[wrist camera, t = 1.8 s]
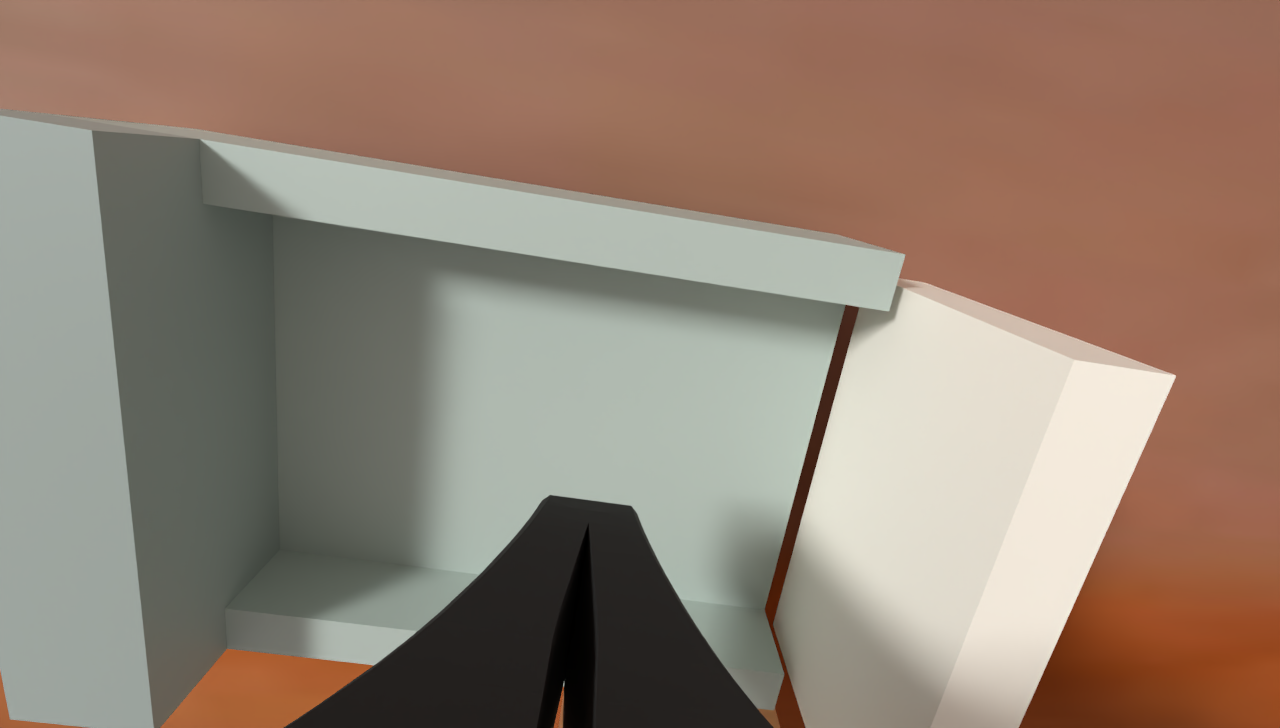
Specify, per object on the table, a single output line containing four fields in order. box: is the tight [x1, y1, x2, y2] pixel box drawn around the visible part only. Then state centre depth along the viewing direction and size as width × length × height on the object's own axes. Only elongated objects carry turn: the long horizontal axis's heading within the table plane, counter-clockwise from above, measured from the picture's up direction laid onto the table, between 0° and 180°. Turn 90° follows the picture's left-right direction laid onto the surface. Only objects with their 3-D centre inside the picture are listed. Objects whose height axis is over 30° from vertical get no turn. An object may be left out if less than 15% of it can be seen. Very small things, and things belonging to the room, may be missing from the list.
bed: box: [0, 109, 905, 728], centre depth 12 cm, size 10×14×6 cm
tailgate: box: [773, 279, 1176, 728], centre depth 11 cm, size 9×2×6 cm, turn 171°
